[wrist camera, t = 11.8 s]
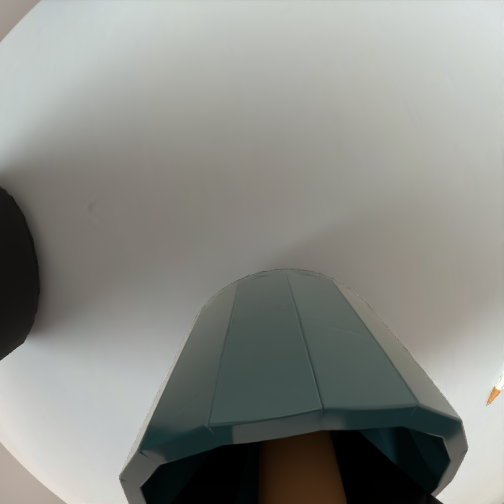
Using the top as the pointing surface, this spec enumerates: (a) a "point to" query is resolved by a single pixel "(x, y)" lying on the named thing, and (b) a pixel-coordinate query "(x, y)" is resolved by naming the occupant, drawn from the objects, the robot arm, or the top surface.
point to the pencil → (497, 389)
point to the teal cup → (290, 387)
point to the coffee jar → (16, 276)
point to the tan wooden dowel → (300, 471)
